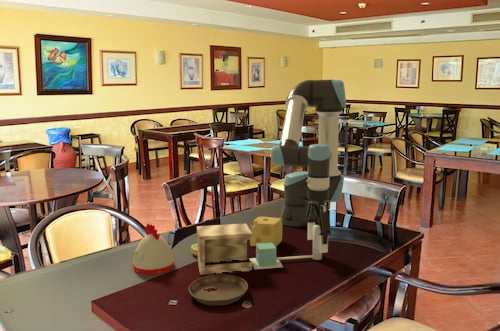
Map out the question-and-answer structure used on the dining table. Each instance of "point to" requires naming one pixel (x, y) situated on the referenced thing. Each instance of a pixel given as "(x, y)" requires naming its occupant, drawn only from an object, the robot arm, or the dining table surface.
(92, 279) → the dining table surface
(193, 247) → the decorated donut
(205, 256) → the box
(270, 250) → the block
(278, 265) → the mat
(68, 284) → the dining table surface
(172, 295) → the dining table surface
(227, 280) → the plant saucer
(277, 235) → the cheese
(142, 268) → the kitchen timer
